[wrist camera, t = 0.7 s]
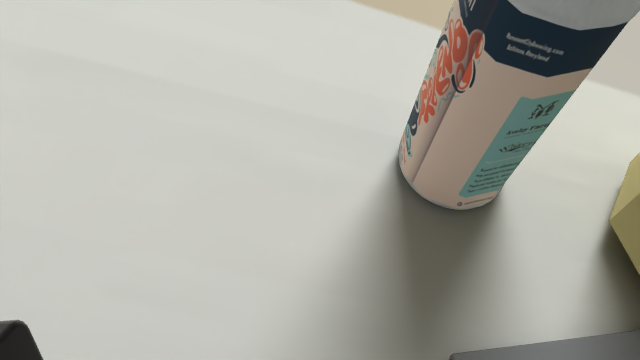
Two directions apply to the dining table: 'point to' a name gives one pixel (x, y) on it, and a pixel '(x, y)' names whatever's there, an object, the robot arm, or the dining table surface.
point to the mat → (566, 349)
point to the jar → (629, 213)
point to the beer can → (499, 90)
